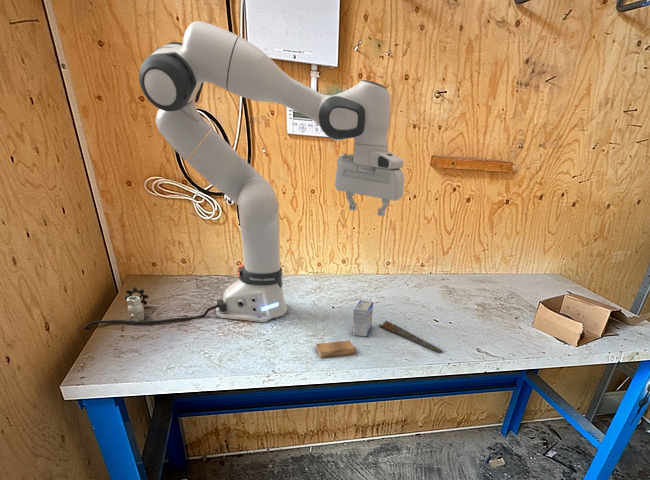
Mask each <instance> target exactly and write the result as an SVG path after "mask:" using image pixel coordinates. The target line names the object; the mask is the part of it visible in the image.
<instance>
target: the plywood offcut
mask: <svg viewBox="0 0 650 480" xmlns="http://www.w3.org/2000/svg"><path fill="white" fill-rule="evenodd" d="M315 350H316V352H317V353H318V355H319V357H320V358H321V359H323V358H330V357H338V356H339V357H340V356H347V355H348V356H349V355H355V354H356V348H355V346H354V345H353V343H352V341H351V340H342V341H332V342H323V343H316V345H315Z"/></svg>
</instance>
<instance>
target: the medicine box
mask: <svg viewBox="0 0 650 480" xmlns="http://www.w3.org/2000/svg"><path fill="white" fill-rule="evenodd" d="M373 311H374V301H371V300H366V299H365V300H363V299H360V300H359V301H358V303H357V304H356V306H355V307H354V308H353V319H352V321H353V322H352V335H354V336H358V337H359V336H360V337H365V338H366V337H367V336H368V334H369V332H370V330H371V328H372V326H373Z"/></svg>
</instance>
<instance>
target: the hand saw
mask: <svg viewBox="0 0 650 480" xmlns="http://www.w3.org/2000/svg"><path fill="white" fill-rule="evenodd" d="M378 326H379V327H380V328H382V329H385V330H387V331H389V332H391V333H395V334H397V335H400V336H402V337H404V338H406V339H407V340H410V341H413V342H415V343H416V344H419V345H421V346H424V347H425V348H428V349H430V350H432V351H434V352H436V353H440V352H442V351H443V350H442V349H440V348H438V347H436V346H435V345H433V344H432V343H429V342H428V341H426V340H424V339H422V338H421V337H418V336H416V335H414V334H413V333H412V332H409V331H407V330H406V329H404V328H401V327H400V326H398V325H397V324H394V323H392V322H390V321H388V320H385V322H384V323H382V324H380V323H379V324H378Z"/></svg>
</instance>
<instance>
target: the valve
mask: <svg viewBox="0 0 650 480" xmlns="http://www.w3.org/2000/svg"><path fill="white" fill-rule="evenodd" d="M125 293H126V294H128V295H125V296H124V300H125V301H126V302H127V310H128V313H129V314H130V318H131V321H145V314H144V311H145V307H144V306H146V305H147V304H148V301H147V300H146V299H149V295H148V294H147V293H146V294H144V293H145V289H144V288H140V290H138V287H137V286H132V290H130V289H126V292H125ZM135 293H136V294H135ZM137 293H138V294H137ZM132 294H134V295H132ZM139 294H140V295H139ZM141 298H142V299H141Z"/></svg>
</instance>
